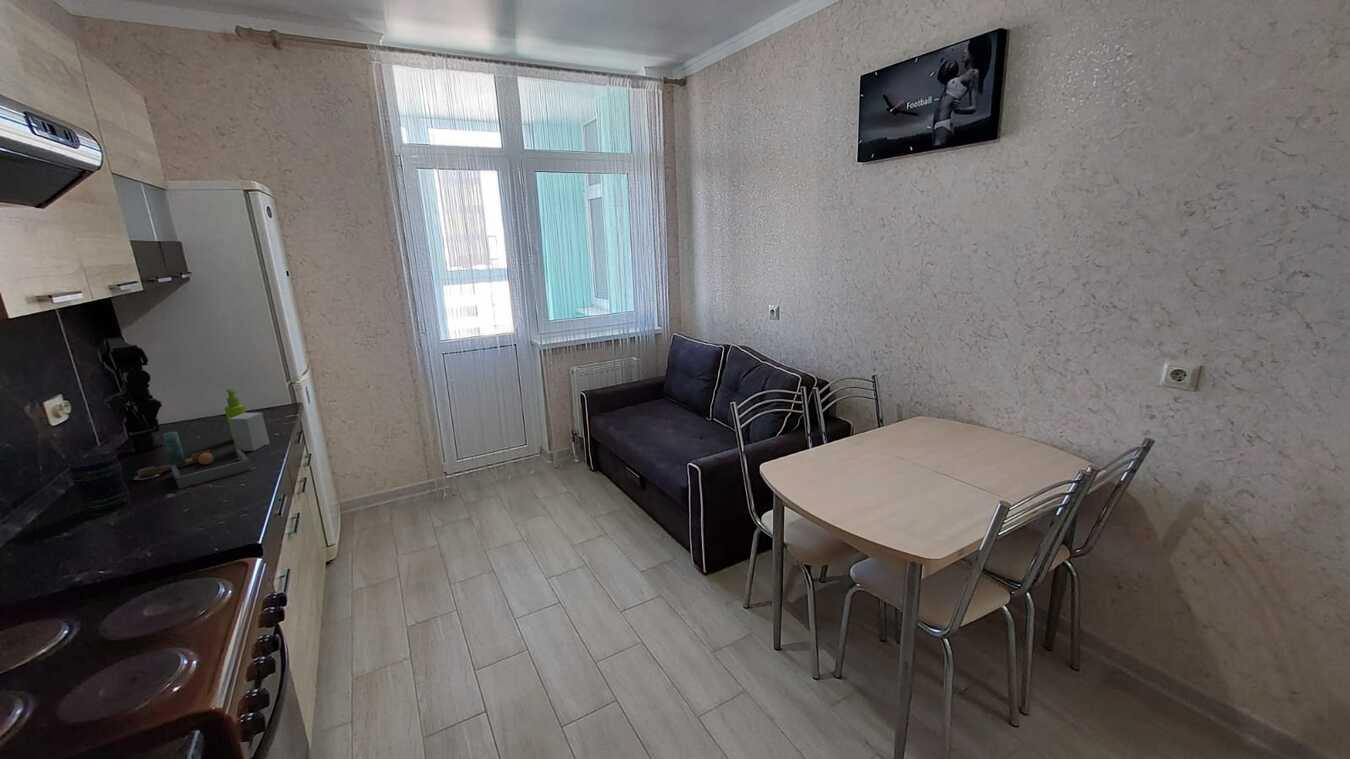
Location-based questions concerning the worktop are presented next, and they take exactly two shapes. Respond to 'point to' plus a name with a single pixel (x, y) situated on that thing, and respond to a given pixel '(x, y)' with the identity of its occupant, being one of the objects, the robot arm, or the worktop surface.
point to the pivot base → (147, 477)
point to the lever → (171, 456)
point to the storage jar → (99, 483)
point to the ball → (205, 458)
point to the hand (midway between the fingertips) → (147, 425)
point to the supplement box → (249, 431)
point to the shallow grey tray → (212, 472)
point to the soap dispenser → (233, 406)
